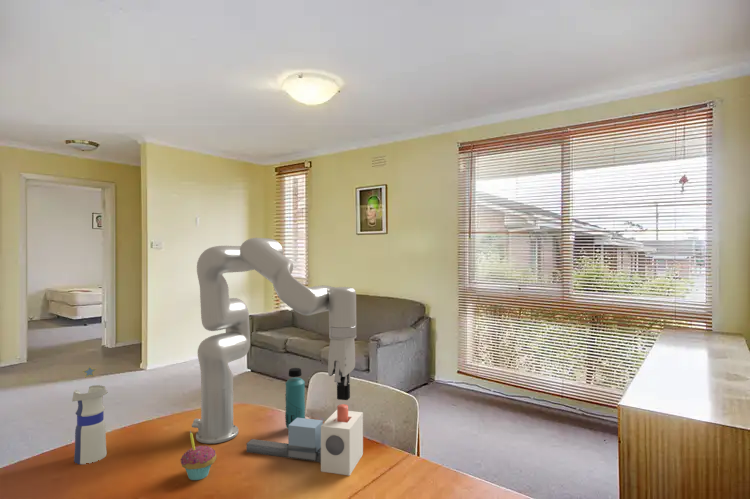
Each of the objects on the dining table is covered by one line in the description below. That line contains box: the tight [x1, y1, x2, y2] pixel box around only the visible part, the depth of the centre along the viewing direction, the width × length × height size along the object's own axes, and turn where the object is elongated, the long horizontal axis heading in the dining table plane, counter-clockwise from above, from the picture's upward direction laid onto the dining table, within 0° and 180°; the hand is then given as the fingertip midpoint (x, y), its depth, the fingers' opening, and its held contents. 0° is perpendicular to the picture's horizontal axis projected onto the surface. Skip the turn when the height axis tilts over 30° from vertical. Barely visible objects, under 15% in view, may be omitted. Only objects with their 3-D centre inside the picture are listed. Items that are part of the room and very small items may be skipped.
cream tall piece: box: [71, 365, 108, 465], centre depth 121 cm, size 8×8×25 cm
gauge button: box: [336, 403, 349, 422], centre depth 118 cm, size 3×3×7 cm
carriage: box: [287, 417, 324, 460], centre depth 121 cm, size 8×6×9 cm
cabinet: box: [320, 409, 364, 476], centre depth 118 cm, size 8×12×12 cm, turn 165°
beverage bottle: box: [284, 367, 306, 429], centre depth 139 cm, size 6×7×20 cm
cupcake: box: [180, 430, 217, 481], centre depth 111 cm, size 9×8×12 cm
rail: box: [245, 438, 321, 463], centre depth 122 cm, size 25×3×2 cm, turn 75°
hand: (343, 398), depth 118 cm, fingers closed
